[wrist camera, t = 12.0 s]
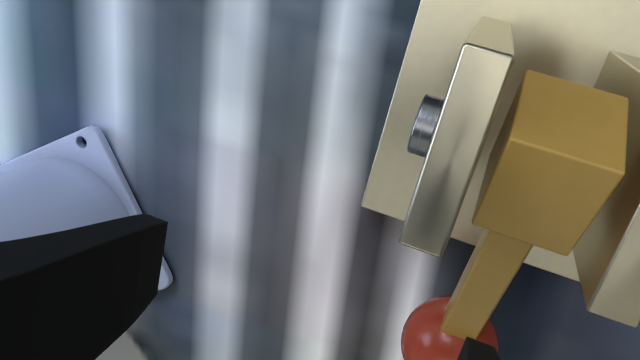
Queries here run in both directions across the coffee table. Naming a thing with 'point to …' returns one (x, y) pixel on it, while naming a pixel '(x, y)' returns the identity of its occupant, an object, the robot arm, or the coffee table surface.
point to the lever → (528, 203)
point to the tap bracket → (488, 117)
